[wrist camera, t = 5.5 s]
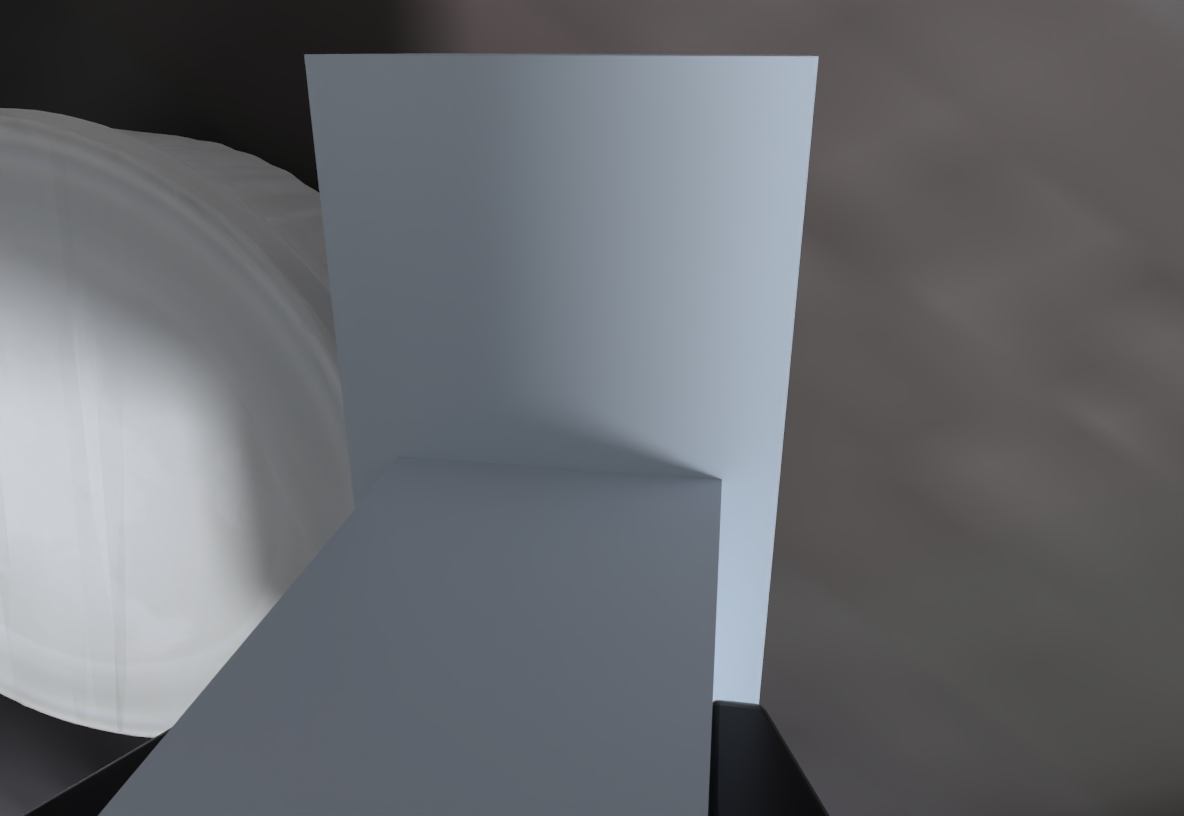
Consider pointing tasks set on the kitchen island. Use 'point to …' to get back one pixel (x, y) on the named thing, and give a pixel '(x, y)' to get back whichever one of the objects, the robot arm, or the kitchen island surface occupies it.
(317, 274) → the ramekin
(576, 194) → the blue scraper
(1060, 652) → the kitchen island surface
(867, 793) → the kitchen island surface
